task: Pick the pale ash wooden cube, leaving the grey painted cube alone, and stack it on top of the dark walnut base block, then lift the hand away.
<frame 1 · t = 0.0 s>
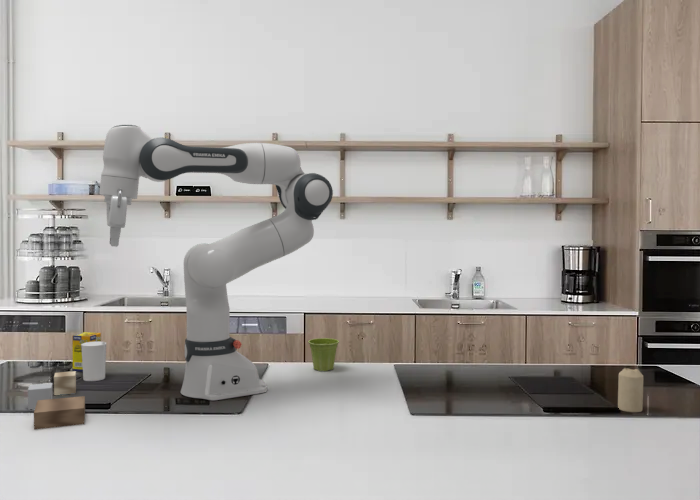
hand: (113, 245, 155), 39 cm above the countertop, tool pointing down, fingers open, 8 cm apart
grey block: (40, 406, 151), on the countertop
walnut block: (60, 421, 141), on the countertop
beige jar: (629, 410, 153), on the countertop
plant pot: (323, 369, 192), on the countertop
supplement box: (87, 370, 188), on the countertop
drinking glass: (94, 379, 178), on the countertop
ash block: (65, 393, 163), on the countertop
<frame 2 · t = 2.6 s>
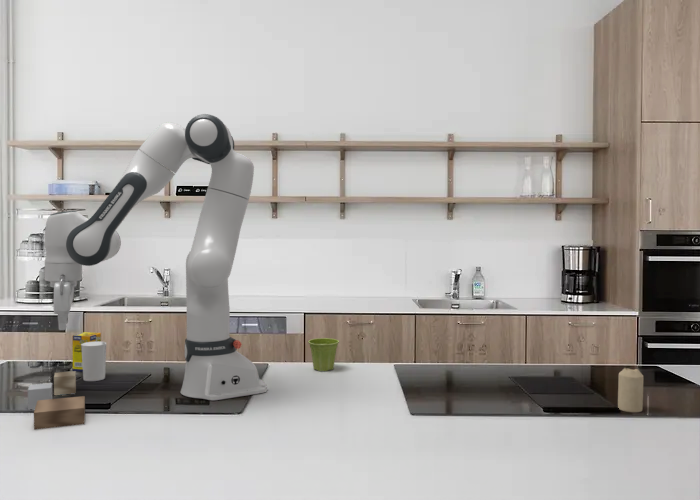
hand: (63, 326, 163), 17 cm above the countertop, tool pointing down, fingers open, 8 cm apart
nothing on the countertop moved.
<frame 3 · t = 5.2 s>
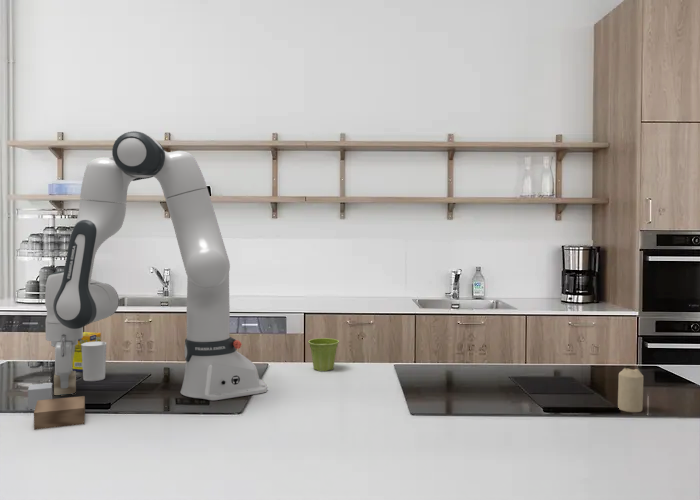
hand: (65, 384, 163), 2 cm above the countertop, tool pointing down, fingers closed on ash block, 5 cm apart
ash block: (65, 392, 163), on the countertop, touching gripper
everything else where it was.
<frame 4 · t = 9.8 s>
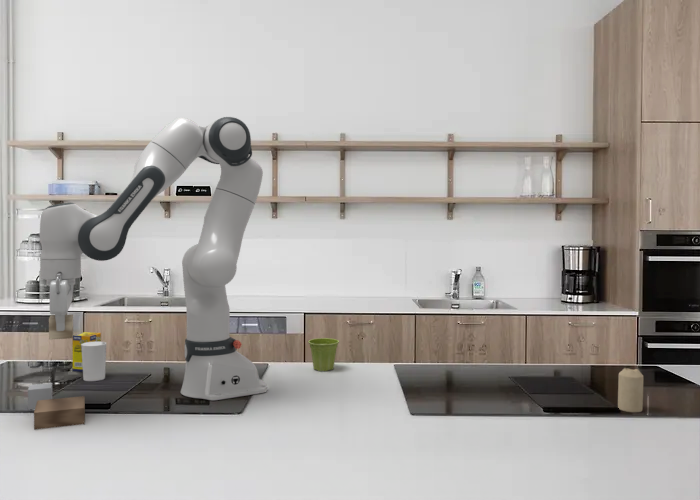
hand: (61, 328, 150), 19 cm above the countertop, tool pointing down, fingers closed on ash block, 5 cm apart
ash block: (61, 337, 150), point 17 cm above the countertop, touching gripper
everything else where it was.
when the fingers open (8 cm above the countertop, at t = 14.3 s): ash block drops 2 cm, point 4 cm above the countertop.
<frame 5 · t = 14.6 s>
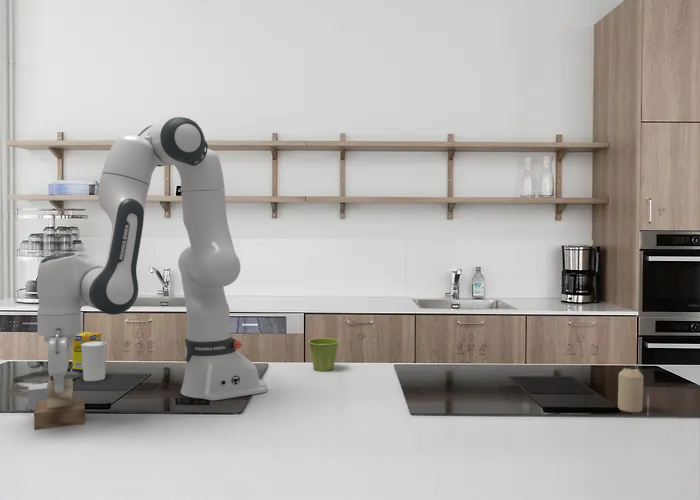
hand: (60, 386, 141), 8 cm above the countertop, tool pointing down, fingers open, 8 cm apart
ash block: (60, 404, 141), point 4 cm above the countertop
everything else where it was.
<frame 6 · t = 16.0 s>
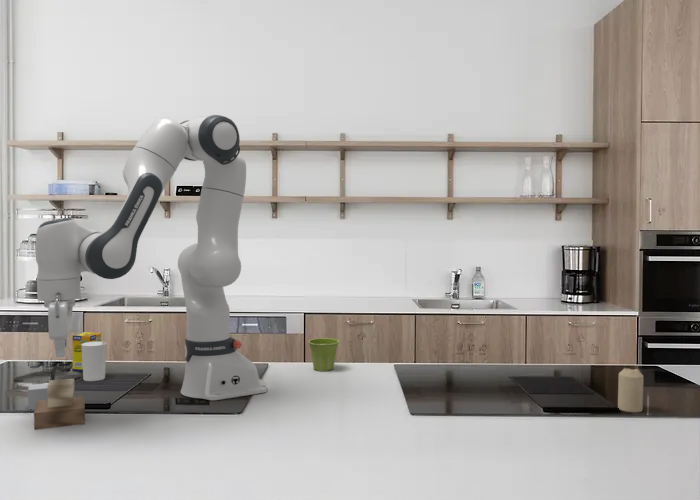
hand: (61, 352, 141), 15 cm above the countertop, tool pointing down, fingers open, 8 cm apart
walnut block: (60, 421, 141), on the countertop, touching ash block
ash block: (61, 403, 141), point 4 cm above the countertop, touching walnut block
everything else where it was.
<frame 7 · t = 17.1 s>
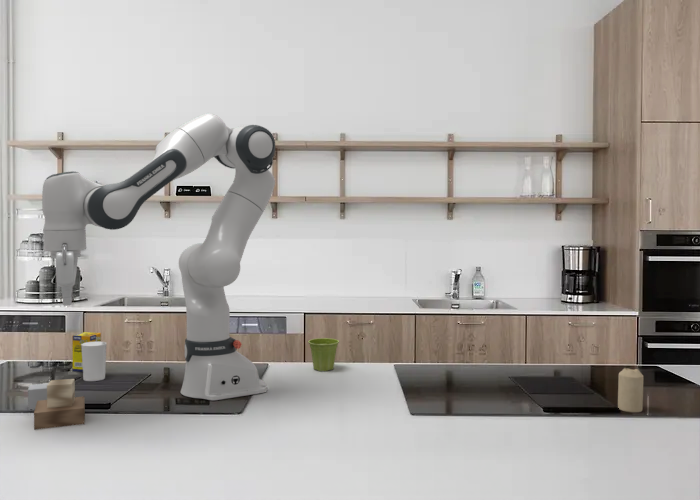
hand: (67, 302, 145), 26 cm above the countertop, tool pointing down, fingers open, 8 cm apart
nothing on the countertop moved.
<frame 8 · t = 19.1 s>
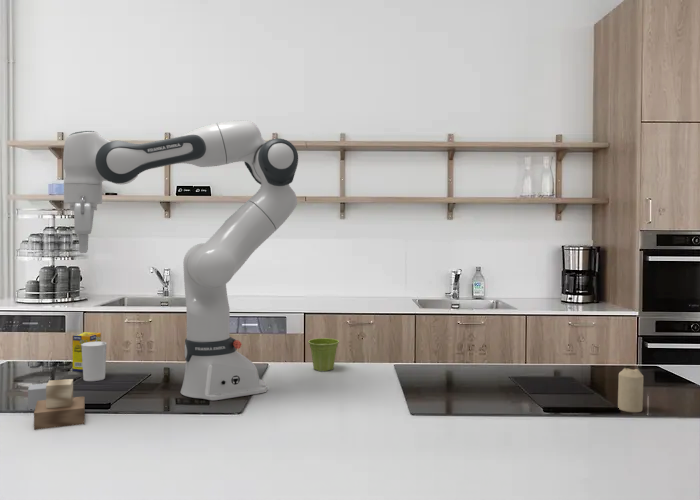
hand: (83, 251, 157), 37 cm above the countertop, tool pointing down, fingers open, 8 cm apart
walnut block: (60, 421, 141), on the countertop
ash block: (59, 404, 141), point 4 cm above the countertop
everything else where it was.
at the end: ash block 0.2 cm off-centre on the walnut block, point 4.0 cm above the walnut block's base; ash block tilted 0°; grey block moved 0.1 cm from its start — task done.
